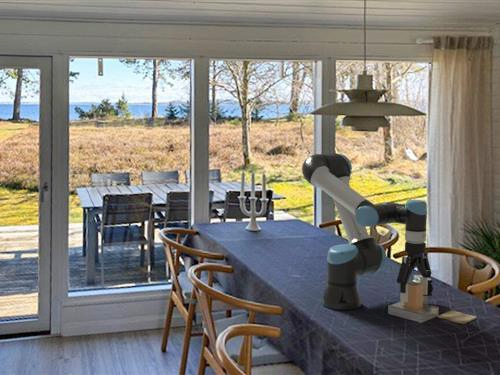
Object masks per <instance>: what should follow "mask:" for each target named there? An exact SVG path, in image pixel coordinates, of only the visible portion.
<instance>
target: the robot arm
mask: <svg viewBox="0 0 500 375" xmlns="http://www.w3.org/2000/svg"><path fill="white" fill-rule="evenodd" d="M352 169H353V167H352V163H351V160H350V159H349V158H348V157H347V156H346V155H344V154H341V153H336V152H332V153H316V154H315V153H314V154H311V155H310V156H309V155H308V156H307V158H305V160H304V161H303V163H302V167H301V172H302V176H303V178H304V179H305V180H306V182H308V183H309V184H310V185H311V186H312V187H314V188H318V189H321V190H322V191H323V192H325V194H327V195H328V196H329V197H331V198H332V200H333V202H334V205H335V208H336V211H337V213H338V214H337V215H338V217H339V218H340V221H341V224H342V227H343V229H344V232H345V235H346V238H347V240H348V242H347V243H342V244H337V245H333V246H331V247H330V248H329V249H328V251H327V258H326V261H327V262H326V263H327V264H326V265H327V274H326V275H327V279H326V280H327V281H326V282H327V283H326V288H325V289H324V293H323V296H322V299H321V300H322V301H321V302H322V305H323V306H324V307H326V308H328V309H332V310H337V311H338V310H340V311H350V310H356V309H359V308H360V307H361V306H362V305H361V304H362V300H361V296H360V293H359V289H358V286H357V285H358V277H360V276H365V275H373V274H375V273H379V272H380V271H382V270H383V269H384V267H385V265H386V263H387V252H386V249H385V248H384V246H382V245H381V244H380V243H376V240H375V237H374V236H372V235H370V234H369V232H368V229H367V227H375V226H380V225H381V226H382V225H389V224H402V225H404V227H405V231H404V232H405V233H404V241H405V242H404V252H405V253H407V256H402V258H401V264H400V268H399V272H398V275H397V279H396V283H397V284H399V285H400V289H399V290H400V291H399V294H400V295H399V296H400V298H399V302H401V301H404V302H408V284H407V283H408V282H409V279H410V277H411V275H412V272H413V270H415V269H416V268H417V269H418V271H419V273H420V275H422V276H423V277H420V283H422V284H424V287H423V294H424V295H427V286H428V278H430V279H431V277H432V270H431V266H430V261H429V259H428V252H427V243H426V241H427V219H428V206H427V202H426V200H424V199H423V200H421V199H409V200H406V203H405V204H403V203H399V202H398V203H396V202H393V201H391V202H386V201H385V202H383V203H380V204H375V203H373V202H371V201H370V200H368V199H367V198H365V197H364V196H363V195H361V193H359V192H358V191H356V190H355V189H354V188H352V187H351V186H350V181H351V175H352V172H353V171H352Z"/></svg>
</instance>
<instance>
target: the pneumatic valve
mask: <svg viewBox="0 0 500 375" xmlns="http://www.w3.org/2000/svg"><path fill="white" fill-rule="evenodd" d="M420 277H423V276H422V275H421V274H413V279H411V281H413V282H418V283H420ZM433 291H434V287H433V279H431V277H430V278H428V286H427V295H424V294H423V303H424V304H428V299H429V298H428V297H432V296H433Z"/></svg>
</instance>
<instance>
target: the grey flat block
mask: <svg viewBox="0 0 500 375" xmlns="http://www.w3.org/2000/svg"><path fill="white" fill-rule="evenodd" d="M439 310H440V309H439V306H435V305H431V304H428V303H427V304H424V303H423V308H422V309H419V310H417V311H416V310H412V309H408V308H404V301H398V302H396V303H392V304H388V308H387V314H388V315H391V316H395V317H399V318H403V319H406V320H409V321H412V322H417V323H419V324H421V323H424V322H426V321H429V320H431V319H434V318H436V317H438V316H439Z"/></svg>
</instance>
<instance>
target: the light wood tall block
mask: <svg viewBox="0 0 500 375" xmlns="http://www.w3.org/2000/svg"><path fill="white" fill-rule="evenodd" d="M407 284H408V302H404V308H408V309H412V310H416V311H417V310H419V309H422V308H423V287H424V284H422V283H418V282H413V281H412V280H411V281H408V282H407Z"/></svg>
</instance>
